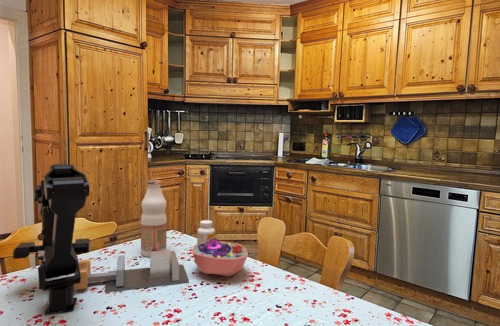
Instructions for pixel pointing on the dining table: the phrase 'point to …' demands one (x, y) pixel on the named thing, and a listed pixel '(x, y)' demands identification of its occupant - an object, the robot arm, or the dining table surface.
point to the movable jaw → (100, 274)
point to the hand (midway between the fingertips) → (54, 276)
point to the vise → (143, 280)
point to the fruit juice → (153, 220)
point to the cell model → (219, 257)
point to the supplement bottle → (205, 231)
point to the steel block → (159, 264)
